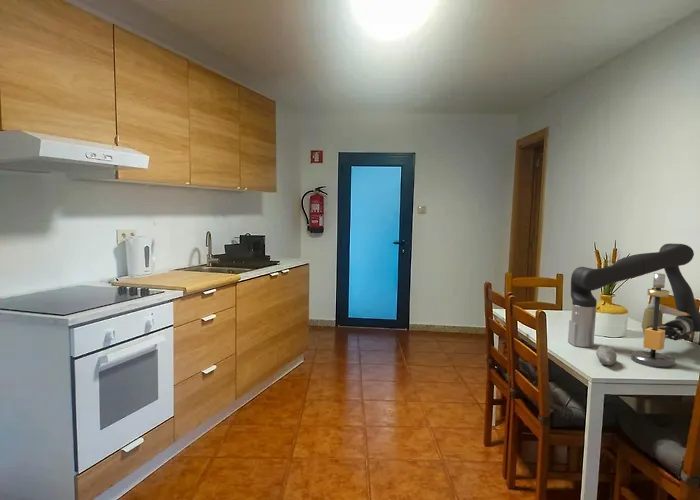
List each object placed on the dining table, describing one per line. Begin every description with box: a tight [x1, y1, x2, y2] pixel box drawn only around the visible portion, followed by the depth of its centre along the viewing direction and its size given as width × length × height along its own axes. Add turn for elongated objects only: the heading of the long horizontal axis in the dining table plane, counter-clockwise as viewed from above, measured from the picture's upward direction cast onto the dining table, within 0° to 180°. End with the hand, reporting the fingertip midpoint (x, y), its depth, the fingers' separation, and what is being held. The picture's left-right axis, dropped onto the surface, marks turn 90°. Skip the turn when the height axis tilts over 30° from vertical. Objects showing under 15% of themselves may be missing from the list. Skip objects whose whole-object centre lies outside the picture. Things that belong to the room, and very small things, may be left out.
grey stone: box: [595, 344, 618, 366], centre depth 174 cm, size 6×14×8 cm, turn 160°
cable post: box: [630, 272, 676, 369], centre depth 175 cm, size 14×14×34 cm
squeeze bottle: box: [641, 296, 663, 334], centre depth 214 cm, size 8×8×18 cm
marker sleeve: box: [642, 328, 666, 352], centre depth 176 cm, size 5×5×7 cm
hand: (662, 335), depth 181 cm, fingers open, 8 cm apart
